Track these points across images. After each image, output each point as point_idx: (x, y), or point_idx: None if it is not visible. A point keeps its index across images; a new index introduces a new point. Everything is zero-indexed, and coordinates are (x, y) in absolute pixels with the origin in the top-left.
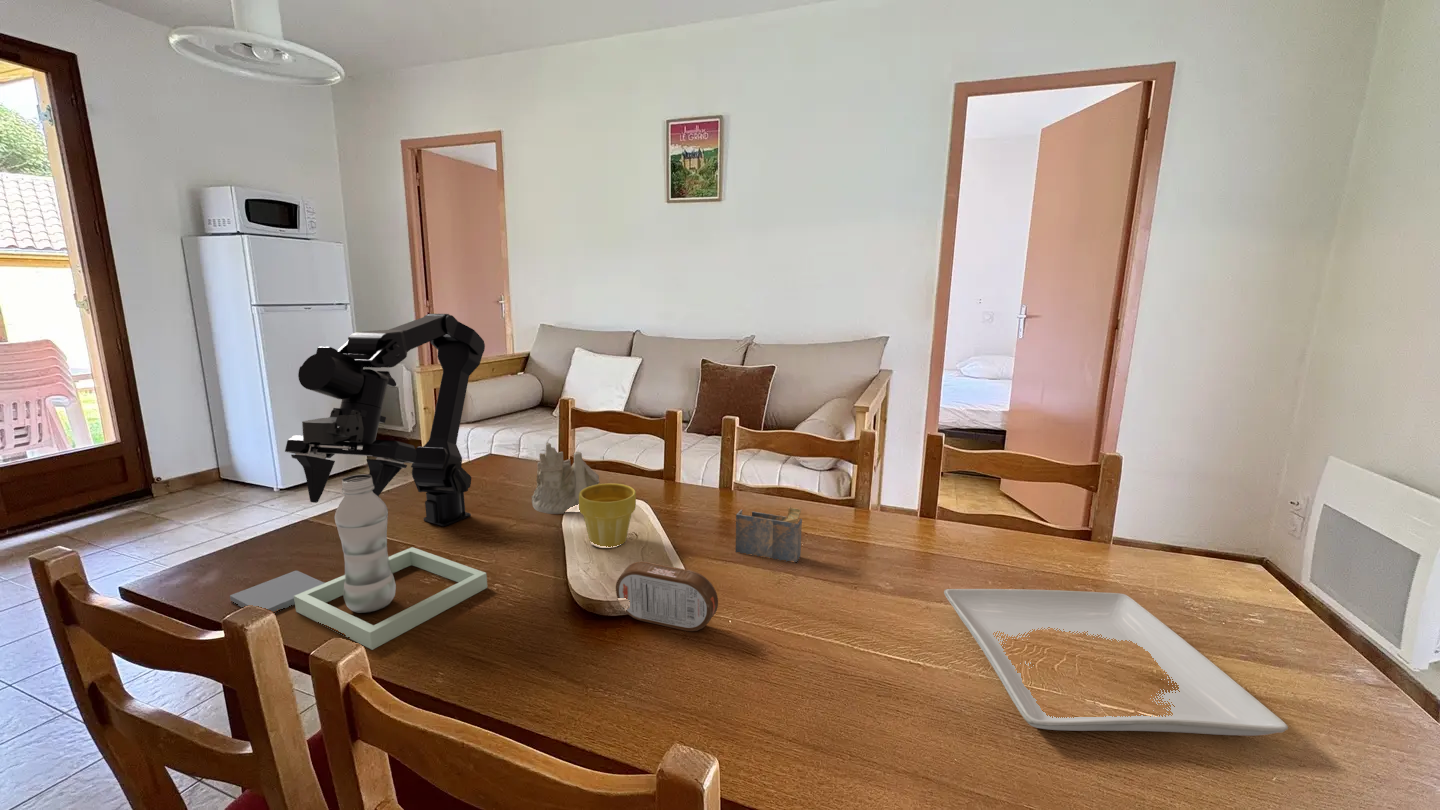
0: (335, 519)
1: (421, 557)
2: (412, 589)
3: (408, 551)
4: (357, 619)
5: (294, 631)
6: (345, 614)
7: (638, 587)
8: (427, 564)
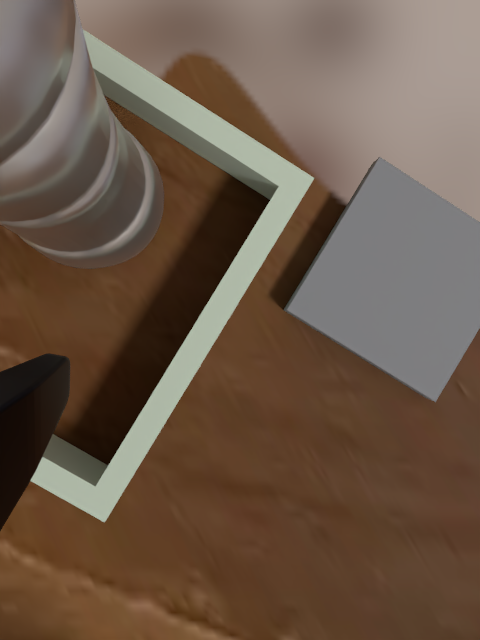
0: None
1: None
2: (31, 307)
3: (101, 486)
4: None
5: (246, 95)
6: (90, 58)
7: None
8: None
